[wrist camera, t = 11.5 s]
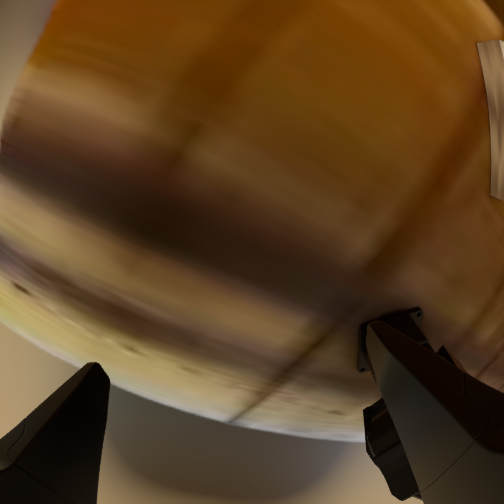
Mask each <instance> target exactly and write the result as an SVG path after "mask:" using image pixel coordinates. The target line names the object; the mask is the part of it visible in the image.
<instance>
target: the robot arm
mask: <svg viewBox="0 0 504 504" xmlns="http://www.w3.org/2000/svg"><path fill="white" fill-rule="evenodd" d="M422 317H423V311H422V309H421V308H416V309H413V310H410V311H406V312H403V313H400V314H396V315H393V316H389V317H386V318H382V319H379V320H375V321H371V322H368V323H364V324H363V325H361V327H360V334H359V349H358V362H357V370H358V372H359V373H363V372H367V371H371V373H372V375H373V378H374V380H375V382H376V385H377V387H378V389H379V392H380V394H381V396H382V398H381V399H380V400H378V401H377V402H375V403H374V404H373V405H371V406H370V407H367V408H365V409H364V410H363V416H364V427H365V440H366V451H367V453H368V455H369V456H370V458H371V459H372V461H373V462H374V463H375V465H376V466H378V468H379V469H380V471H381V472H382V474H383V475H384V477H385V479H386V482H387V484H388V487H389V489H390V492H391V494H392V495H393V496H395V497H396V498H397V499H399V500H401V501H404V500H406V499H408V498H410V497H412V496H413V497H415V498H417V499H420V500H422V501H423V502H424V504H504V393H502V392H500V391H498V390H496V389H494V388H492V387H490V386H488V385H486V384H485V383H483V382H481V381H479V380H478V379H476V378H474V377H473V376H471V375H469V374H468V373H467V372H466V370H465V369H464V368H463V366H462V365H461V364H460V362H459V361H458V360H457V359H456V358H455V357H454V356H453V355H452V353H451V352H450V351H449V350H448V349H447V348H446V347H445V346H444V345H443V346H442V347H441V348H440V349H439V351H438V352H437V353H435V351H434V350H433V348H432V347H431V345H430V344H429V342H428V339H427V337H426V336H425V335H424V333H423V332H422V330H421V329H420V326H421V322H422ZM366 328H367V329H366ZM109 392H110V379H109V377H108V375H107V374H106V372H105V371H104V370H103V368H102V367H101V365H100V364H99V363H97V362H89V363H87V364H86V365H84V366H83V367H82V368H81V369H80V370H79V371H78V372H76V373H75V374H74V375H73V376H72V377H71V378H70V379H69V380H67V381H66V382H65V383H64V384H63V385H62V386H60V387H59V388H58V389H57V390H56V391H55V392H54V393H53V394H51V395H50V396H49V397H48V398H47V399H46V400H45V401H44V402H43V403H41V404H40V405H39V406H38V407H37V408H36V409H35V410H33V411H32V412H31V413H30V414H29V415H28V416H27V417H26V418H25V419H23V420H22V421H21V422H20V423H19V424H18V425H17V426H16V427H15V428H13V429H12V430H11V431H10V432H9V433H7V434H6V435H5V436H4V437H2V438H1V439H0V504H97V492H98V481H99V471H100V463H101V455H102V448H103V442H104V435H105V429H106V423H107V415H108V403H109Z"/></svg>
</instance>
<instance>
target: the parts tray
mask: <svg viewBox="0 0 504 504" xmlns="http://www.w3.org/2000/svg"><path fill="white" fill-rule="evenodd" d="M477 47H478V51H479V56H480V60H481V65H482V70H483V75H484V81H485V87H486V94H487V101H488V110H489V120H490V134H491V192H490V195H491V196H493V197H496V198H498V199H500V200H502V201H504V42H503V41H501V40H493V41H486V42H479V43H477Z"/></svg>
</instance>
